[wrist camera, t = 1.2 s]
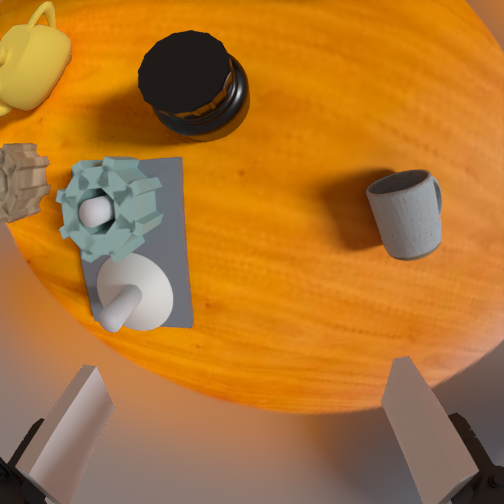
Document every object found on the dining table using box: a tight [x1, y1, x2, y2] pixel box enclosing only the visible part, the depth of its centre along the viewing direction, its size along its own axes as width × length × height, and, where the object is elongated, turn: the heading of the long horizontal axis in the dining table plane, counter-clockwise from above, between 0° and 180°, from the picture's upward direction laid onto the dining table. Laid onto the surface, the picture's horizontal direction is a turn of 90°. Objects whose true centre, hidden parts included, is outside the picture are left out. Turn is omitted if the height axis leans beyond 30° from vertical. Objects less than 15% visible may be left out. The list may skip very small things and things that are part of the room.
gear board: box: [56, 157, 194, 332], centre depth 29 cm, size 21×14×8 cm, turn 1°
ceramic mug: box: [366, 170, 442, 261], centre depth 27 cm, size 11×8×8 cm
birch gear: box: [0, 143, 51, 223], centre depth 27 cm, size 10×10×6 cm
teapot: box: [0, 1, 72, 117], centre depth 21 cm, size 18×11×11 cm, turn 143°
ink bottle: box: [138, 30, 250, 141], centre depth 22 cm, size 10×9×12 cm
